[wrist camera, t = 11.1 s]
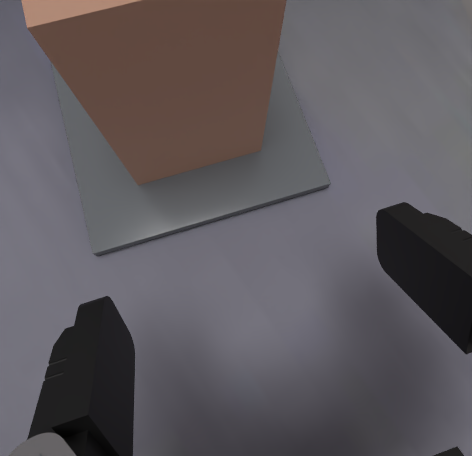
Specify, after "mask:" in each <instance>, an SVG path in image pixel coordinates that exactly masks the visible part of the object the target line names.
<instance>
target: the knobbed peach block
mask: <svg viewBox="0 0 472 456" xmlns="http://www.w3.org/2000/svg"><path fill="white" fill-rule="evenodd" d="M22 5H23V10H24V15H25V19H26V24H27V28H28V30H29V31H30V32H31V34H32V35H33V37H34V38H35V40H36V41H37V42H38V44H39V45H40V47H41V48H42V49H43V51H44V52H45V54H46V55H47V57H48V58H49V59H50V61H51V62H52V64H53V65H54V67H55V68H56V69H57V71H58V72H59V74H60V75H61V76H62V78H63V79H64V81H65V82H66V84H67V85H68V86H69V88H70V89H71V91H72V92H73V94H74V95H75V96H76V98H77V99H78V101H79V102H80V104H81V105H82V106H83V108H84V109H85V111H86V112H87V113H88V115H89V116H90V118H91V119H92V121H93V122H94V123H95V125H96V126H97V128H98V129H99V131H100V132H101V133H102V135H103V136H104V138H105V139H106V140H107V142H108V143H109V145H110V146H111V148H112V149H113V150H114V152H115V153H116V155H117V156H118V158H119V159H120V160H121V162H122V163H123V165H124V166H125V167H126V169H127V170H128V172H129V173H130V175H131V176H132V177H133V179H134V180H135V182H136V183H137V185H141V184H144V183H148V182H151V181H155V180H159V179H162V178H166V177H169V176H173V175H176V174H180V173H183V172H187V171H190V170H194V169H197V168H201V167H205V166H208V165H212V164H215V163H219V162H222V161H226V160H229V159H233V158H236V157H240V156H243V155H247V154H250V153H254V152H258V151H261V147H262V141H263V136H264V130H265V124H266V118H267V112H268V106H269V100H270V94H271V88H272V82H273V77H274V71H275V65H276V59H277V53H278V47H279V41H280V35H281V29H282V23H283V18H284V12H285V6H286V0H22Z"/></svg>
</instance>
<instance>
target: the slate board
mask: <svg viewBox="0 0 472 456" xmlns="http://www.w3.org/2000/svg"><path fill="white" fill-rule="evenodd" d="M51 66H52V70H53V75H54V80H55V84H56V89H57V93H58V98H59V102H60V107H61V111H62V116H63V121H64V125H65V130H66V134H67V139H68V143H69V148H70V152H71V157H72V161H73V166H74V171H75V175H76V180H77V184H78V189H79V193H80V198H81V202H82V207H83V212H84V216H85V221H86V225H87V230H88V234H89V239H90V243H91V248H92V252H93V254H94V255H96V256H99V255H102V254H106V253H109V252H113V251H116V250H119V249H123V248H126V247H129V246H133V245H136V244H139V243H143V242H146V241H150V240H153V239H156V238H160V237H163V236H166V235H170V234H173V233H176V232H180V231H183V230H187V229H190V228H193V227H197V226H200V225H203V224H207V223H210V222H214V221H217V220H220V219H224V218H227V217H230V216H234V215H237V214H240V213H244V212H247V211H251V210H254V209H257V208H261V207H264V206H267V205H271V204H274V203H277V202H281V201H284V200H288V199H291V198H294V197H298V196H301V195H304V194H308V193H311V192H314V191H318V190H321V189H325V188H328V186H329V185H330V184H331V183H330V180H329V178H328V175H327V173H326V170H325V168H324V165H323V163H322V160H321V158H320V155H319V153H318V150H317V148H316V145H315V142H314V140H313V137H312V135H311V132H310V130H309V127H308V125H307V122H306V120H305V117H304V115H303V112H302V110H301V107H300V105H299V102H298V100H297V97H296V95H295V92H294V90H293V87H292V85H291V82H290V80H289V77H288V75H287V72H286V70H285V67H284V65H283V62H282V60H281V57H280V55H279V52H278V53H277V59H276V65H275V71H274V77H273V82H272V88H271V94H270V100H269V106H268V112H267V118H266V124H265V130H264V136H263V141H262V147H261V151H258V152H254V153H250V154H247V155H243V156H240V157H236V158H233V159H229V160H226V161H222V162H219V163H215V164H212V165H208V166H205V167H201V168H197V169H194V170H190V171H187V172H183V173H180V174H176V175H173V176H169V177H166V178H162V179H159V180H155V181H151V182H148V183H144V184H141V185H137V183H136V182H135V180H134V179H133V177H132V176H131V175H130V173H129V172H128V170H127V169H126V167H125V166H124V165H123V163H122V162H121V160H120V159H119V158H118V156H117V155H116V153H115V152H114V150H113V149H112V148H111V146H110V145H109V143H108V142H107V140H106V139H105V138H104V136H103V135H102V133H101V132H100V131H99V129H98V128H97V126H96V125H95V123H94V122H93V121H92V119H91V118H90V116H89V115H88V113H87V112H86V111H85V109H84V108H83V106H82V105H81V104H80V102H79V101H78V99H77V98H76V96H75V95H74V94H73V92H72V91H71V89H70V88H69V86H68V85H67V84H66V82H65V81H64V79H63V78H62V76H61V75H60V74H59V72H58V71H57V69H56V68H55V67H54V65H53V64H52V62H51Z"/></svg>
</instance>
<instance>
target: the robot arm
mask: <svg viewBox="0 0 472 456" xmlns="http://www.w3.org/2000/svg"><path fill="white" fill-rule="evenodd" d="M376 225H377V255H378V259H379V262H380V264H381V266H382V268H383V269H384V271H385V272H386V273H387V274H388V275H389V276H390V277H391V278H392V279H393V280H394V281H395V282H396V283H397V284H398V285H399V286H400V287H401V288H402V290H403V291H404V292H405V293H406V294H407V295H408V296H409V297H410V298H411V299H412V300H413V301H414V302H415V303H416V304H417V305H418V306H419V307H420V308H421V309H422V310H423V311H424V312H425V313H426V314H427V315H428V316H429V317H430V318H431V319H432V320H433V321H434V322H435V323H436V324H437V325H438V326H439V327H440V328H441V329H442V330H443V331H444V332H445V333H446V334H447V335H448V336H449V338H450V339H451V340H452V341H453V342H454V343H455V344H456V345H457V346H458V347H459V348H460V349H461V350H462V351H463V352H464V353H465V354H468V353H471V352H472V235H471V234H470V233H468V232H466V231H465V230H463V231H462V229H461V228H460V227H459V226H457V225H455V224H454V223H452V222H451V221H449V220H448V219H446V218H442V217H439V216H436V215H433V214H430V213H425V214H423V213H421V212H420V211H418V210H417V209H416V208H414V207H413V206H411V205H410V204H408V203H405V202H403V203H400V204H397V205H393V206H390V207H387V208H384V209H381V210H379V211H378V212H377V216H376ZM134 379H135V349H134V344H133V340H132V337H131V334H130V332H129V330H128V329H127V327H126V325H125V323H124V321H123V319H122V317H121V316H120V314H119V312H118V310H117V308H116V306H115V305H114V303H113V301H112V300H111V298H110V297H108V296H106V297H102V298H99V299H96V300H93V301H90V302H87V303H84V304H81V305H80V306H79V308H78V311H77V316H76V320H75V324H74V326H72V327H69V328H66V329H65V330H64V331H63V333H62V334H61V336H60V337H59V339H58V340H57V341H56V343H55V344H54V346H53V349H52V353H51V356H50V360H49V366H48V367H47V371H46V374H45V381H44V382H43V385H42V389H41V392H40V396H39V400H38V403H37V407H36V410H35V414H34V417H33V421H32V425H31V428H30V432H29V435H28V439H27V440H26V441H25V442H23V443H22V444H21V445H19V446H18V447H17V448H16V449H15V450H14V451H13V452H12V453H11V454H10V455H9V456H133V421H134ZM434 456H464V455H463V454H462V452H461V451H460V450H459V448H458V447H455V448H452V449H450V450H447V451H444V452H442V453H439V454H436V455H434Z"/></svg>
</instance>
